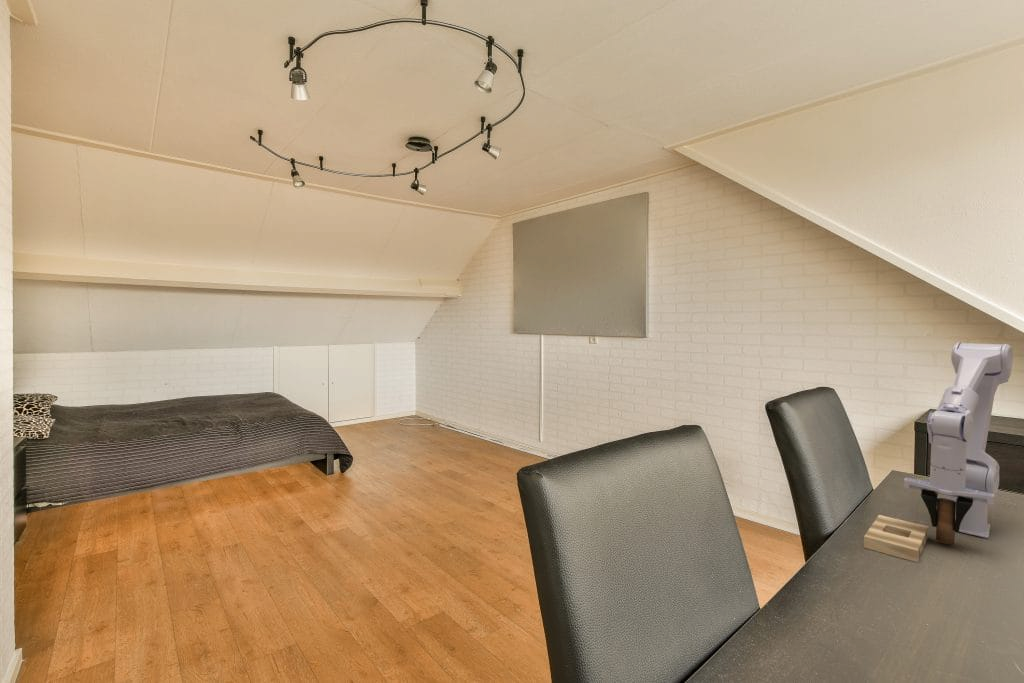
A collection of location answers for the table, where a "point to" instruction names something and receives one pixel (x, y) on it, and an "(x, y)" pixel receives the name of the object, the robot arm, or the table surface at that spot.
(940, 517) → the peg
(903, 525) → the socket block
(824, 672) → the table surface
